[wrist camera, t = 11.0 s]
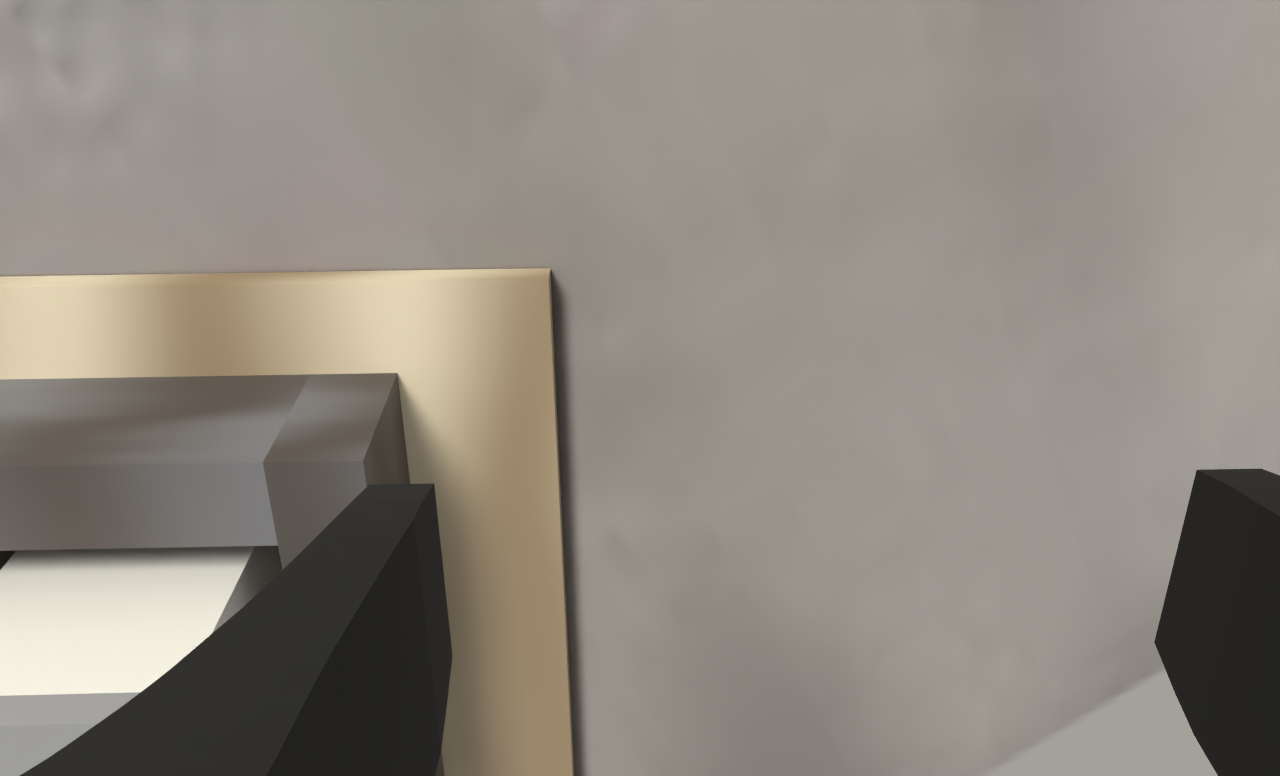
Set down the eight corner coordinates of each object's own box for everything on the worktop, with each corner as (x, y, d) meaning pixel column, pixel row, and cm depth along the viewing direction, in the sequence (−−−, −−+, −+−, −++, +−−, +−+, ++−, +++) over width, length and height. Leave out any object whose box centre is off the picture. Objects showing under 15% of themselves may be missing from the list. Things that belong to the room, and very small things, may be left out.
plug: (283, 487, 21) (168, 722, 15) (322, 698, 23) (233, 967, 18) (63, 492, 21) (-129, 728, 15) (124, 703, 23) (-26, 973, 18)
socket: (550, 268, 19) (537, 355, 16) (576, 817, 25) (570, 958, 22) (-278, 280, 19) (-449, 371, 16) (-58, 830, 25) (-154, 975, 22)
